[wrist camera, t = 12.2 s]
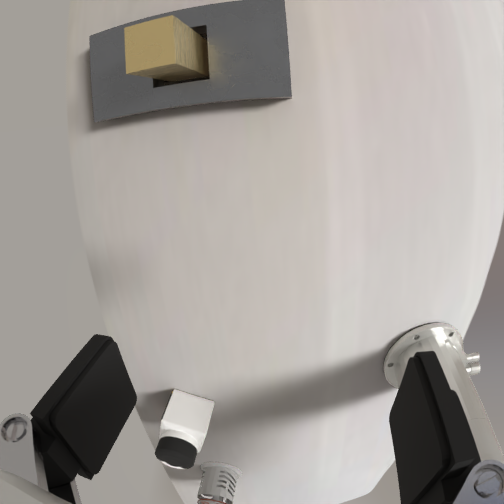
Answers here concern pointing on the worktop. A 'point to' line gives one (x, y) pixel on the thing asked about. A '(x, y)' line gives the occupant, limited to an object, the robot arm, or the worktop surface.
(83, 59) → the worktop surface
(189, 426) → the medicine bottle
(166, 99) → the grey socket block
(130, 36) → the brass peg
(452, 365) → the robot arm
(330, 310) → the worktop surface
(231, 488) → the french press
